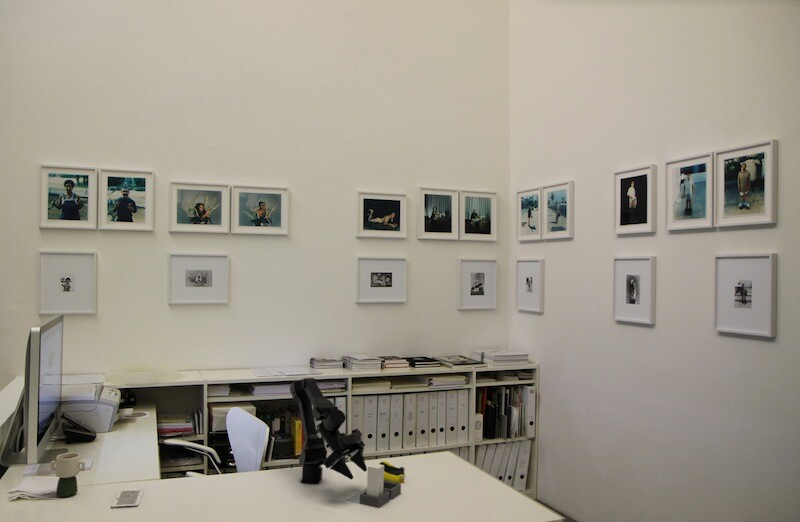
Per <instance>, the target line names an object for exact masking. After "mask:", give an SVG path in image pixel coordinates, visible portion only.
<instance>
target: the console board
mask: <svg viewBox="0 0 800 522" xmlns="http://www.w3.org/2000/svg"><path fill="white" fill-rule="evenodd" d="M401 494H402V483H401V484H396V483H391V482H386V481H384V485H383V495H381V496H380V497H374V496H370V495H367V487H366V488H364V489H362V490H361V491H359V492H357V493H356V494H353V495H352V496H351V497H349V498H347V499H345V501H346V502H350V503H355V504H359V505H364V506H368V507H371V508H378V509H380V508H382V507H384V506H385V505H386V504H388V503H390V502H391V501H392V500H394V499H395V498H396V497H398V496H399V495H401Z"/></svg>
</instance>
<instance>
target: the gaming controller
mask: <svg viewBox="0 0 800 522" xmlns="http://www.w3.org/2000/svg"><path fill="white" fill-rule="evenodd" d="M379 464H380V465H384V481H386V482H391V483H396V484H401V485H402V484H404V482H405V477H406V475H405V470H406V467H404V466H401V467H396V466H395V465H393V464H391V463H390V462H388V461H384V460H382V461H380V462H379Z"/></svg>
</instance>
